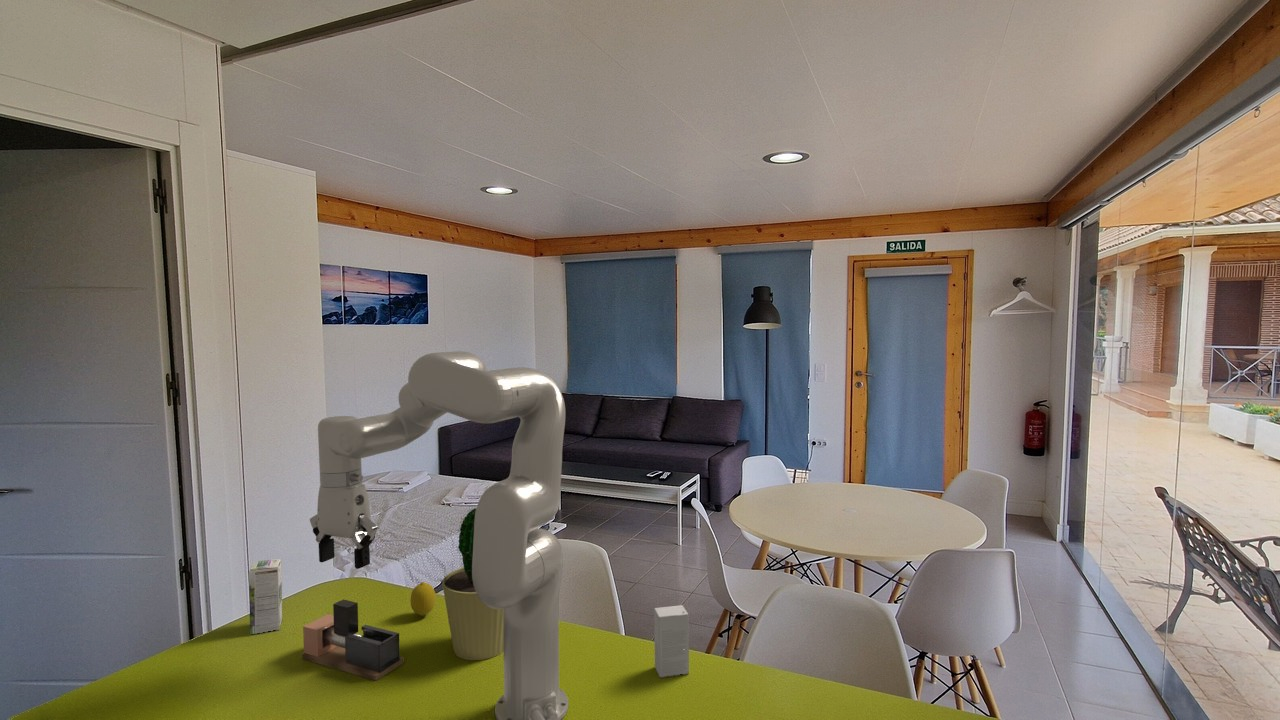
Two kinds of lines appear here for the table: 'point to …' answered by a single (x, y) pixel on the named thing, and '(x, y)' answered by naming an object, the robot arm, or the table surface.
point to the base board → (338, 661)
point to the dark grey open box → (372, 649)
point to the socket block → (317, 636)
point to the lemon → (423, 599)
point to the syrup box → (265, 596)
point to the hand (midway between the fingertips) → (344, 563)
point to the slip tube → (342, 623)
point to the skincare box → (671, 640)
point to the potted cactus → (471, 606)
